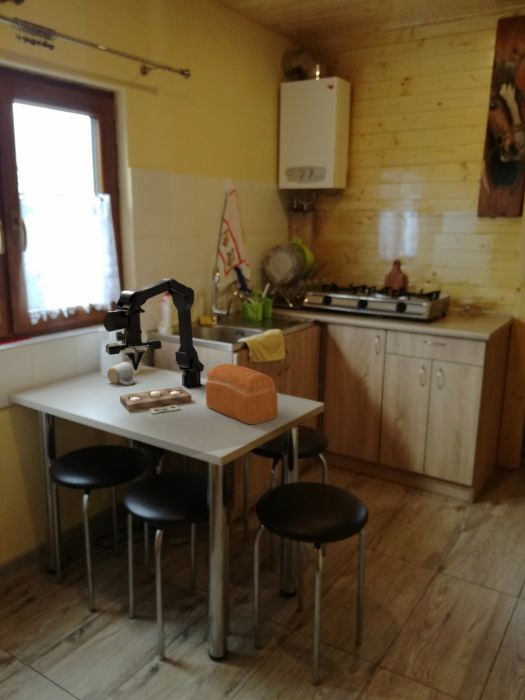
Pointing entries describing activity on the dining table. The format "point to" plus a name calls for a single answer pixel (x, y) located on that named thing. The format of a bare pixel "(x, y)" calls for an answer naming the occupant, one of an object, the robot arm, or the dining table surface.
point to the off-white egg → (155, 394)
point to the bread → (241, 393)
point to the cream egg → (134, 398)
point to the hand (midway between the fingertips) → (135, 369)
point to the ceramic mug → (121, 374)
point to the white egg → (174, 392)
